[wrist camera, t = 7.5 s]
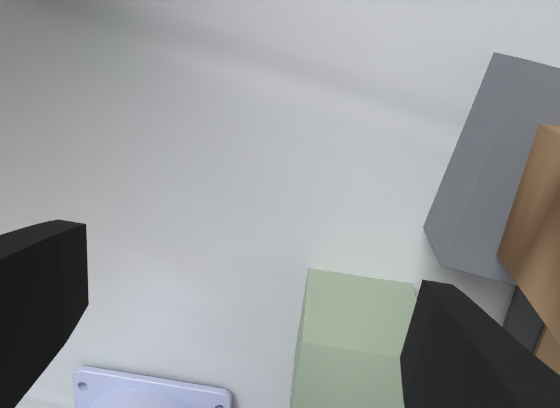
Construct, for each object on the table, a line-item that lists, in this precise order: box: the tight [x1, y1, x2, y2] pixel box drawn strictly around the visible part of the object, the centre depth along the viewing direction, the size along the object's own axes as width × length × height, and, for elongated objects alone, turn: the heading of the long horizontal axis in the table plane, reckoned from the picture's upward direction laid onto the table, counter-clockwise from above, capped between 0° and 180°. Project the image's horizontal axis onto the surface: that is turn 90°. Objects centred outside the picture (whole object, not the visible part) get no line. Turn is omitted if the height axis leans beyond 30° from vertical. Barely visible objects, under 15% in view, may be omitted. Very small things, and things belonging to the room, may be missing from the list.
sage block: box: [290, 268, 417, 408], centre depth 19 cm, size 4×4×5 cm
